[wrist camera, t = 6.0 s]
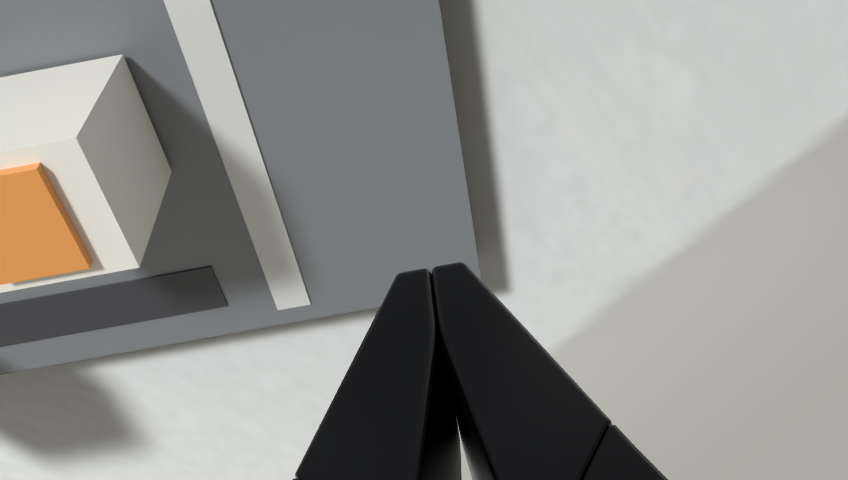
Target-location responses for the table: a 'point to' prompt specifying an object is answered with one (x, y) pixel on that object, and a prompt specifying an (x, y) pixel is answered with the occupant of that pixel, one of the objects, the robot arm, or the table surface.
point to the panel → (256, 166)
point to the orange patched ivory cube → (76, 173)
